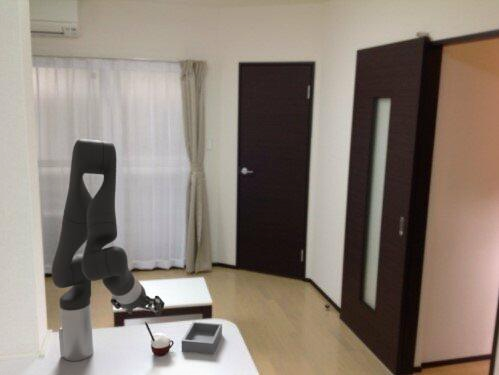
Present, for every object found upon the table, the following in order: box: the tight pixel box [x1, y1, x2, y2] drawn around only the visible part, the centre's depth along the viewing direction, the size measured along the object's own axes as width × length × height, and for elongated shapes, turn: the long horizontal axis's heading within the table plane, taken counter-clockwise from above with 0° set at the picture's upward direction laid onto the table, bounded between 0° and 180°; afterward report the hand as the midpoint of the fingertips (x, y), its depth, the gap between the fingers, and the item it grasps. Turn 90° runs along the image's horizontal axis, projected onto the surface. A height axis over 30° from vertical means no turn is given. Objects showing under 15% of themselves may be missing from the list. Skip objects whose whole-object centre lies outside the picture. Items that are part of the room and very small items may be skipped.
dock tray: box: [181, 321, 223, 356], centre depth 161 cm, size 11×14×4 cm
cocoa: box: [144, 321, 174, 357], centre depth 154 cm, size 10×6×12 cm, turn 102°
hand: (145, 311), depth 140 cm, fingers open, 8 cm apart
